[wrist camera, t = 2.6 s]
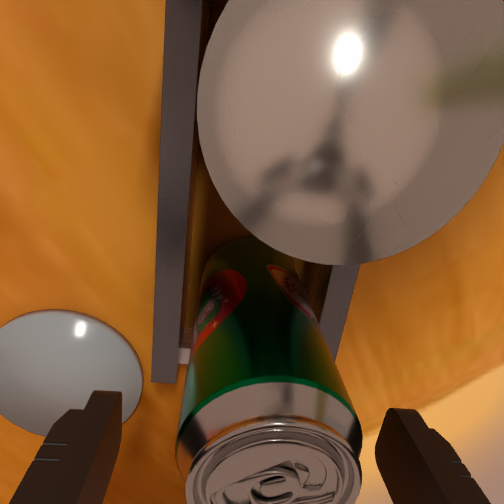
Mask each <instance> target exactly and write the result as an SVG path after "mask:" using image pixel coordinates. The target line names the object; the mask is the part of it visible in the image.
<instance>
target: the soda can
mask: <svg viewBox="0 0 504 504" xmlns="http://www.w3.org/2000/svg"><path fill="white" fill-rule="evenodd" d="M361 448H362V430H361V424H360V422H359V419H358V417H357V414H356V412H355V410H354V407H353V405H352V403H351V400H350V398H349V395H348V393H347V391H346V388H345V386H344V383H343V381H342V379H341V376H340V374H339V371H338V369H337V367H336V364H335V362H334V360H333V357H332V355H331V352H330V350H329V348H328V345H327V343H326V340H325V338H324V336H323V333H322V331H321V329H320V326H319V324H318V321H317V319H316V317H315V314H314V312H313V309H312V307H311V305H310V302H309V300H308V298H307V295H306V293H305V290H304V288H303V286H302V283H301V281H300V278H299V276H298V274H297V271H296V269H295V267H294V264H293V262H292V260H291V258H290V257H289V255H287V254H285V253H282V252H280V251H278V250H276V249H274V248H272V247H271V246H269V245H267V244H266V243H264V242H263V241H261V240H260V239H258V238H255V237H246V238H239V239H235V240H232V241H230V242H228V243H226V244H224V245H222V246H221V247H219V248H218V249H217V250H216V251H215V252H214V253H213V254H212V255H211V256H210V258H209V259H208V261H207V263H206V265H205V267H204V270H203V274H202V280H201V286H200V292H199V299H198V305H197V311H196V318H195V324H194V330H193V336H192V343H191V349H190V355H189V362H188V368H187V374H186V380H185V387H184V393H183V399H182V406H181V412H180V418H179V424H178V431H177V437H176V443H175V458H176V462H177V467H178V469H179V471H180V474H181V476H182V478H183V480H184V481H185V496H186V500H187V504H354V503H355V501H356V499H357V497H358V495H359V492H360V489H361V484H362V471H361V465H360V461H359V457H360V453H361Z"/></svg>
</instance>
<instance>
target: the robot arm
mask: <svg viewBox="0 0 504 504" xmlns="http://www.w3.org/2000/svg"><path fill="white" fill-rule="evenodd" d="M121 435H122V392H121V391H104V390H94V391H93V392H92V394H91V396H90V398H89V400H88V402H87V404H86V406H85V408H84V410H82V409H69V410H68V411H67V412H66V413H65V414H64V415H63V416H62V417H60V418H59V419H58V420H57V421H56V422H55V423H54V424H53V425H52V427H51V429H50V431H49V433H48V434H47V436H46V438H45V440H44V442H43V445H41V447H40V449H39V451H38V452H37V454H36V456H35V459H34V461H32V463H31V465H30V467H29V468H28V470H27V472H26V474H25V476H24V477H23V479H22V481H21V483H20V485H19V486H18V488H17V490H16V492H15V494H14V495H13V497H12V499H11V501H10V503H9V504H102V503H103V500H104V497H105V494H106V490H107V487H108V484H109V481H110V478H111V475H112V472H113V468H114V465H115V462H116V459H117V456H118V452H119V448H120V442H121ZM375 458H376V463H377V466H378V469H379V471H380V473H381V476H382V478H383V481H384V483H385V485H386V487H387V490H388V492H389V495H390V497H391V499H392V501H393V503H394V504H491V503H490V502H489V500H488V499H487V497H486V496H485V495H484V493H483V491H482V490H481V488H480V487H479V486H478V484H477V483H476V481H475V480H474V479H473V478H471V474H470V472H469V471H468V469H467V468H466V466H465V465H464V464H462V463H461V459H460V458H459V456H458V455H457V453H456V452H455V450H454V449H453V447H452V446H451V445H450V443H449V442H448V441H446V440H445V439H444V438H443V437H442V436H441V435H440V434H439V433H438V432H437V431H436V430H435V429H430V428H428V426H427V425H426V423H425V422H424V420H423V419H422V417H421V415H420V414H419V413H418V412H417V411H416V410H414V409H400V408H389V409H388V410H387V412H386V415H385V418H384V421H383V424H382V427H381V430H380V433H379V436H378V439H377V442H376V445H375Z"/></svg>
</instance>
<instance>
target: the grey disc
mask: <svg viewBox="0 0 504 504" xmlns="http://www.w3.org/2000/svg"><path fill="white" fill-rule="evenodd" d="M143 381H144V379H143V369H142V365H141V362H140V359H139V357H138V355H137V353H136V351H135V350H134V348H133V347H132V345H131V344H130V343H129V341H128V340H127V339H126V338H125V337H124V336H123V335H122V334H121V333H119V332H118V331H117V330H116V329H114V328H113V327H111V326H110V325H108V324H107V323H105V322H103V321H101V320H99V319H97V318H95V317H92V316H89V315H86V314H83V313H79V312H75V311H69V310H61V309H48V310H38V311H34V312H29V313H26V314H23V315H20V316H18V317H16V318H14V319H12V320H10V321H9V322H8V323H6V324H5V325H3V326H2V327H1V328H0V414H1V415H3V416H4V417H5V418H6V419H8V420H9V421H10V422H12V423H14V424H15V425H17V426H19V427H21V428H23V429H25V430H27V431H29V432H32V433H34V434H37V435H41V436H44V437H46V436H47V434H48V433H49V431H50V429H51V427H52V425H53V424H54V423H55V422H56V421H57V420H58V419H59V418H60V417H62V416H63V415H64V414H65V413H66V412H67V411H68V410H69V409H82V410H84V408H85V406H86V404H87V402H88V400H89V398H90V396H91V394H92V392H93V391H94V390H104V391H121V392H122V423H123V422H125V421H126V420H127V419H128V418H129V417H130V416H131V414H132V413H133V411H134V410H135V408H136V406H137V404H138V402H139V398H140V395H141V392H142V388H143Z"/></svg>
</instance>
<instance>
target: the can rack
mask: <svg viewBox="0 0 504 504" xmlns="http://www.w3.org/2000/svg"><path fill="white" fill-rule="evenodd" d="M228 1H229V0H166V7H165V33H164V59H163V85H162V112H161V138H160V164H159V190H158V217H157V243H156V269H155V295H154V322H153V348H152V374H151V382H158V383H174V384H176V381H177V375H178V370H179V365H180V364H188V362H189V355H190V349H191V343H192V336H193V330H194V327H185V322H186V309H187V295H188V282H189V269H190V255H191V242H192V229H193V215H194V202H195V189H196V176H197V162H198V149H199V131H198V122H197V93H198V86H199V78H200V71H201V67H202V63H203V59H204V56H205V52H206V42H207V29H208V16H209V5H211V6H217V7H222V8H225V6H226V4H227V3H228ZM359 267H360V264H350V265H328V264H320V263H314V262H311V263H310V268H309V273H308V278H307V283H306V288H305V293H306V295H307V298H308V300H309V302H310V305H311V307H312V309H313V312H314V314H315V317H316V319H317V321H318V324H319V326H320V329H321V331H322V333H323V336H324V338H325V340H326V343H327V345H328V348H329V350H330V352H331V355H332V357H333V360H334V362H335V359H336V355H337V351H338V348H339V344H340V340H341V336H342V332H343V328H344V324H345V321H346V317H347V313H348V309H349V305H350V301H351V297H352V294H353V290H354V286H355V282H356V278H357V274H358V270H359Z"/></svg>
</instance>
